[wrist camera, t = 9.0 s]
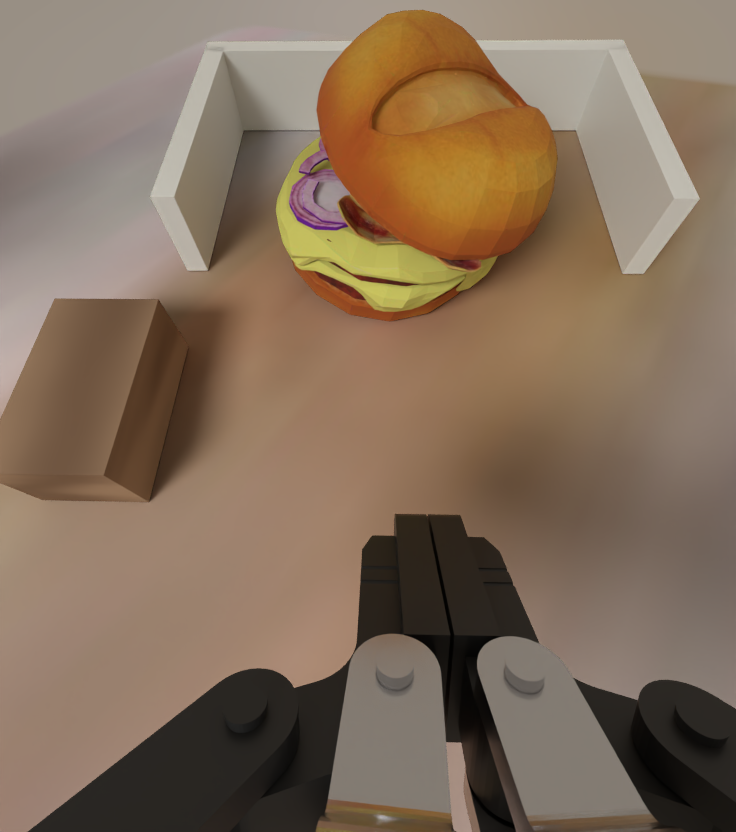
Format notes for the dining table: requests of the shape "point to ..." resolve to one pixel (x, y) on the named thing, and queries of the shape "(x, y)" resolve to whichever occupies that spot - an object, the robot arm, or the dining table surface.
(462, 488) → the dining table surface
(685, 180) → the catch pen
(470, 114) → the cheeseburger
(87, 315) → the cardboard carton
